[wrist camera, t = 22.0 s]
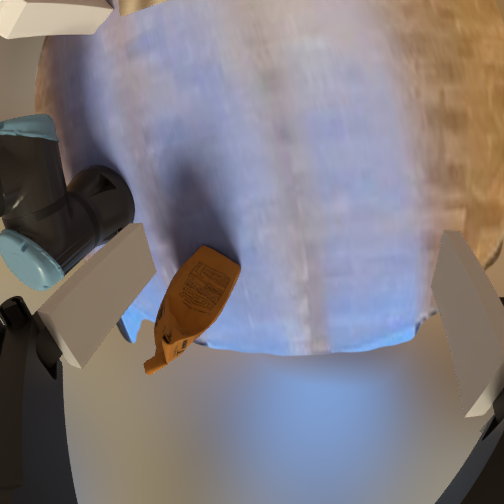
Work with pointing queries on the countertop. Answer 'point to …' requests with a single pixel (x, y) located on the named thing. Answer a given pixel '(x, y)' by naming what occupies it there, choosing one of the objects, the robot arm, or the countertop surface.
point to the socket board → (136, 5)
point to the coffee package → (191, 304)
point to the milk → (51, 17)
